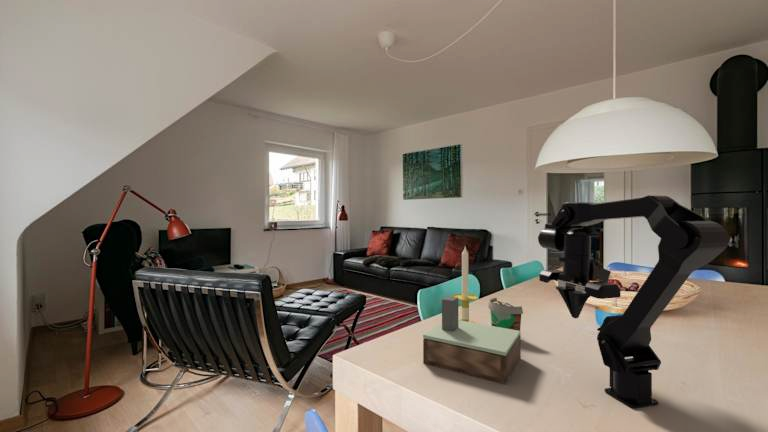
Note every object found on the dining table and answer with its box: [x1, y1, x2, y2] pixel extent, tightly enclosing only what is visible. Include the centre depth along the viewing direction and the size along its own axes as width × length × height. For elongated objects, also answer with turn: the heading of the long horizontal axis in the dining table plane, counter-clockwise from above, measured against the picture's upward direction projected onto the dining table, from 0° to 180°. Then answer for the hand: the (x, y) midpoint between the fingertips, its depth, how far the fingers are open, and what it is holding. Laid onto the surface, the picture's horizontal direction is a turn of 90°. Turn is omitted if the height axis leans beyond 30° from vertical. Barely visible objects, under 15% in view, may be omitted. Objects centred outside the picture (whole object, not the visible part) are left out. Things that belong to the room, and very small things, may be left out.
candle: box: [451, 246, 479, 323], centre depth 112 cm, size 10×10×27 cm
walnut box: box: [422, 334, 522, 385], centre depth 86 cm, size 20×16×6 cm
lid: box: [422, 295, 521, 356], centre depth 86 cm, size 20×16×9 cm
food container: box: [487, 297, 524, 332], centre depth 104 cm, size 12×6×10 cm, turn 21°
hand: (575, 317), depth 82 cm, fingers closed
